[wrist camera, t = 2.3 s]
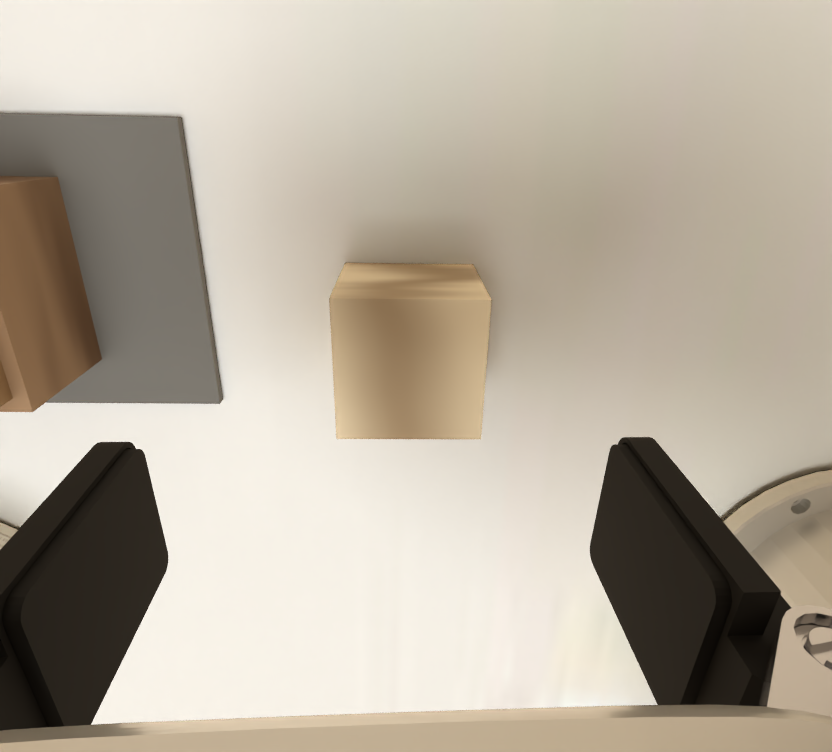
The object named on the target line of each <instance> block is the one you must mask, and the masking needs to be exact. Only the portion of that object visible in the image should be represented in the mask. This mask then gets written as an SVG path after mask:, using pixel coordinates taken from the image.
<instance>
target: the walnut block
mask: <svg viewBox="0 0 832 752" xmlns="http://www.w3.org/2000/svg"><path fill="white" fill-rule="evenodd" d="M0 360H1V363H2V366H3V369H4V372H5V375H6V378H7V381H8V384H9V387H10V390H11V393H12V397H13V399H11V400H10V401H8V402H7V403H6V404H4V405H3V406H1V407H0V412H33V411H35V410H36V409H37V408H39V407H40V406H41V405H43V404H44V403H45V402H47V401H48V400H49V399H51V398H52V397H53V396H54V395H56V394H57V393H58V392H60V391H61V390H62V389H64V388H65V387H66V386H68V385H69V384H70V383H72V382H73V381H74V380H76V379H77V378H78V377H80V376H81V375H82V374H84V373H85V372H86V371H87V370H89V369H90V368H91V367H93V366H94V365H95V364H97V363H98V362H99V361H101V360H102V357H101V353H100V349H99V345H98V340H97V336H96V332H95V328H94V324H93V320H92V316H91V312H90V308H89V303H88V299H87V295H86V291H85V287H84V283H83V279H82V275H81V270H80V266H79V262H78V258H77V254H76V250H75V246H74V242H73V238H72V233H71V229H70V225H69V221H68V217H67V213H66V209H65V205H64V201H63V196H62V192H61V188H60V184H59V180H58V177H25V176H0Z"/></svg>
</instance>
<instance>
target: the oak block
mask: <svg viewBox="0 0 832 752" xmlns="http://www.w3.org/2000/svg"><path fill="white" fill-rule="evenodd" d="M11 399H13V397H12V393H11V390H10V387H9V384H8V381H7V378H6V375H5V372H4V369H3V366H2V363H1V360H0V407H1V406H3V405H4V404H6V403H7V402H8V401H10V400H11Z"/></svg>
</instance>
